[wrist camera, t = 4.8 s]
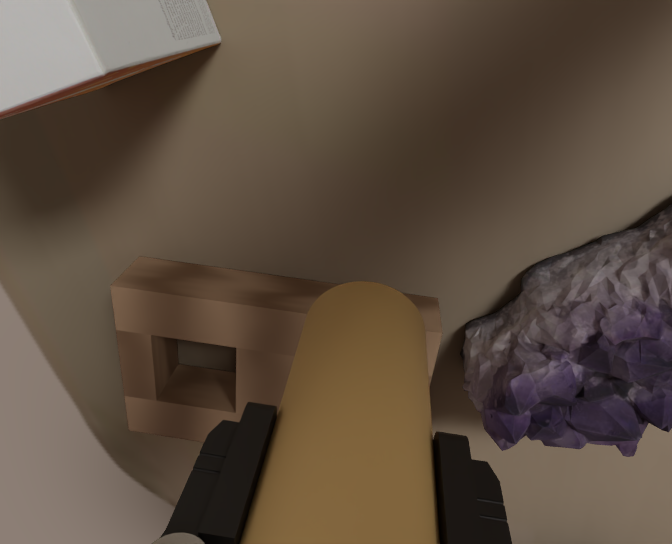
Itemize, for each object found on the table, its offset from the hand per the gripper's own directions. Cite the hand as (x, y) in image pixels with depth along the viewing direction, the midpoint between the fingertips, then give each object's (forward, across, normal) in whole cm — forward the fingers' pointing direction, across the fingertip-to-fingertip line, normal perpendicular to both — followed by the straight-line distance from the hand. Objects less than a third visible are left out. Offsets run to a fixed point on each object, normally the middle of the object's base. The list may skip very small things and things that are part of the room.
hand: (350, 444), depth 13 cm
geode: (+21, -15, +6) cm, 26 cm away
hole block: (+20, +5, +13) cm, 24 cm away
